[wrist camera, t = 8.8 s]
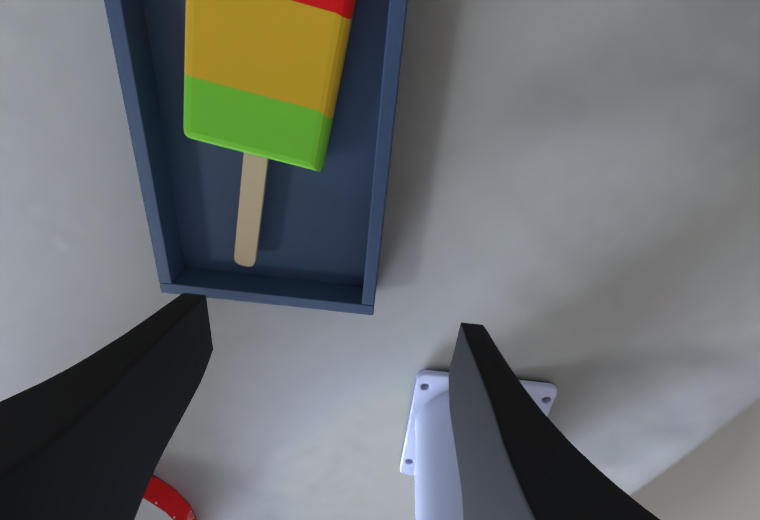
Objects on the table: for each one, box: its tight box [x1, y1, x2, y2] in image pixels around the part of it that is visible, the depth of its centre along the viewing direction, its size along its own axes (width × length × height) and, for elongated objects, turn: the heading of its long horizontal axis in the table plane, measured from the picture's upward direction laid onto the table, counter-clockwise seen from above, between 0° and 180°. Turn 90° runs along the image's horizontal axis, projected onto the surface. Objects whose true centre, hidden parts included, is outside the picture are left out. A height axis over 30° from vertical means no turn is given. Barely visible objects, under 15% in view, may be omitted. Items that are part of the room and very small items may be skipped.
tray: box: [104, 0, 408, 315], centre depth 18 cm, size 18×10×2 cm, turn 175°
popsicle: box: [183, 0, 356, 267], centre depth 18 cm, size 6×15×2 cm, turn 166°
